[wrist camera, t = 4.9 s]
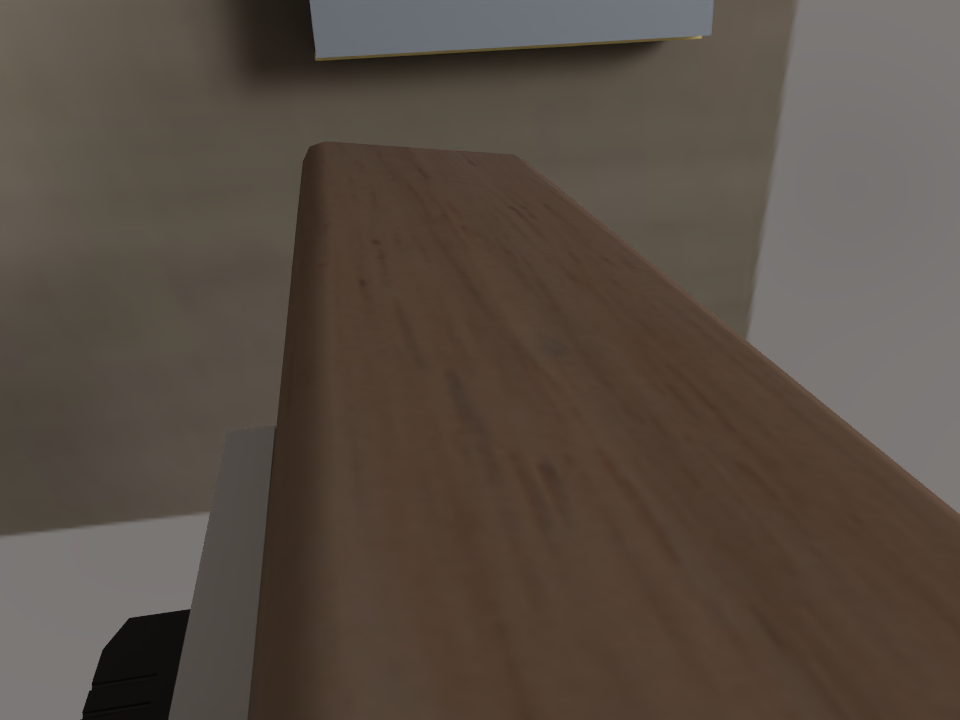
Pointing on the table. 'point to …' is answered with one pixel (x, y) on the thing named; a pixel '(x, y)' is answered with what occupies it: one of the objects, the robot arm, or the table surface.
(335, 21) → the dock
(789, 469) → the wooden block
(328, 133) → the table surface
